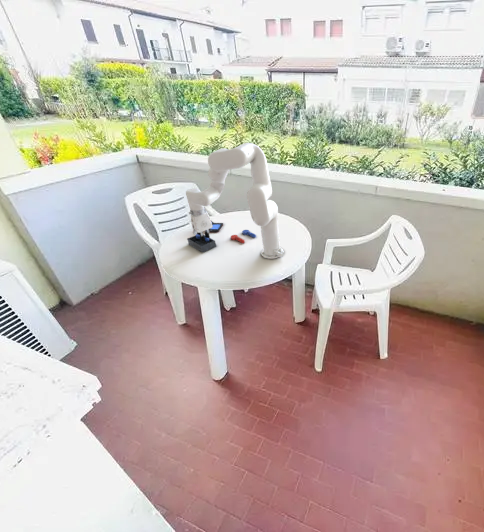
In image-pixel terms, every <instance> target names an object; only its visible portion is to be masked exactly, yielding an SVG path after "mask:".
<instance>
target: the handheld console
mask: <svg viewBox="0 0 484 532" xmlns="http://www.w3.org/2000/svg"><path fill="white" fill-rule="evenodd" d="M211 222H212V226H213V227H212V228H211V229H210V231H209V233H219V232H220V231H221V229H222V227H223V226H224V222H214V221H212V220H211Z"/></svg>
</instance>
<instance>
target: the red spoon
mask: <svg viewBox="0 0 484 532" xmlns="http://www.w3.org/2000/svg"><path fill="white" fill-rule="evenodd" d="M230 239H231V240H232V241H237V242H239V243H241V244H245V241H246V240H245V239H243V238H241V237H239V236H238V235H237V234H232V235H230Z"/></svg>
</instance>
